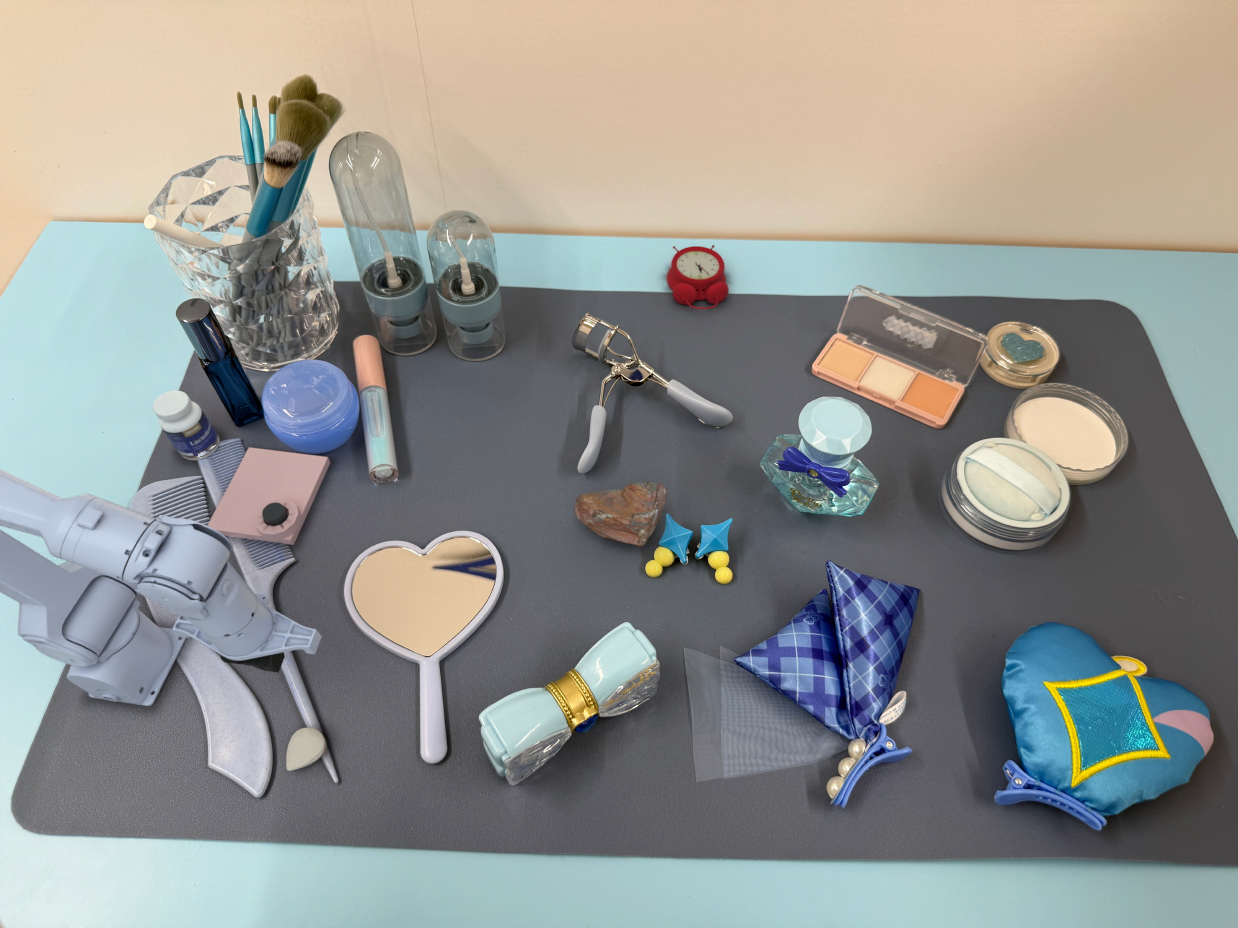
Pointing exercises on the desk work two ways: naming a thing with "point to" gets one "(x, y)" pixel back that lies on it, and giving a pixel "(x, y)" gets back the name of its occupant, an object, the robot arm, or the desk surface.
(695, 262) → the alarm clock
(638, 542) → the stone
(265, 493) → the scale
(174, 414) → the pill bottle
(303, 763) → the beige teardrop
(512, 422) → the desk surface
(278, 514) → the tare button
